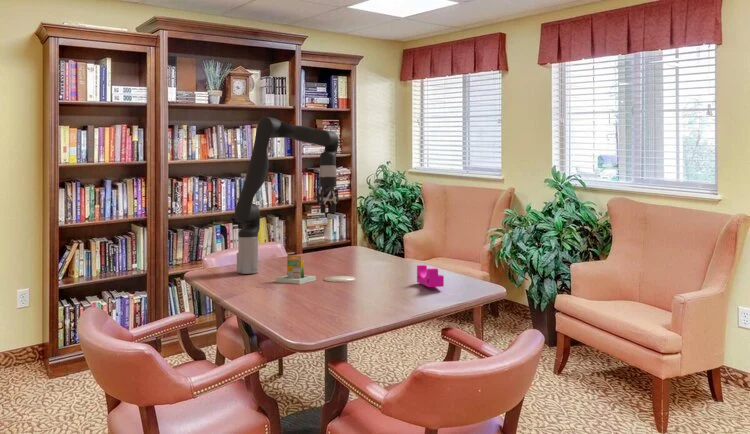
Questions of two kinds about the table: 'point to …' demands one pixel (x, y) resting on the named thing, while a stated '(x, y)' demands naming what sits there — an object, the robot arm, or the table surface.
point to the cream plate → (340, 279)
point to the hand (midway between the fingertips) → (328, 212)
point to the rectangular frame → (295, 281)
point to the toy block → (429, 276)
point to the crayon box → (295, 267)
